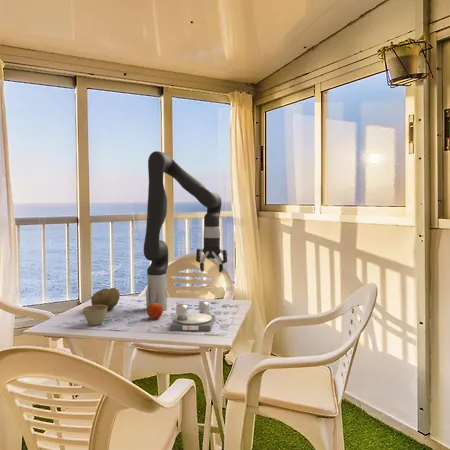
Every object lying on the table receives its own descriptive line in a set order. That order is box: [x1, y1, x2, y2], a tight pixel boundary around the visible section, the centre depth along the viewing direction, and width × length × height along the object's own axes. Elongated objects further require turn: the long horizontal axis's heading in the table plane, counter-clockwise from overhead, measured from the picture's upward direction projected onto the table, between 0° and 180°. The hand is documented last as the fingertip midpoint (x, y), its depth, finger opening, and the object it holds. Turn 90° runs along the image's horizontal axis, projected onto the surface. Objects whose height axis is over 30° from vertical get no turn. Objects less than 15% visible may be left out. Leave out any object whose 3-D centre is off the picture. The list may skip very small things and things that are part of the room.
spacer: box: [198, 300, 210, 315], centre depth 187 cm, size 4×4×6 cm
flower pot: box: [82, 304, 108, 326], centre depth 174 cm, size 10×10×7 cm
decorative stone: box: [90, 287, 121, 311], centre depth 198 cm, size 17×11×10 cm, turn 164°
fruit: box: [146, 301, 164, 320], centre depth 182 cm, size 7×7×8 cm
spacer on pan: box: [175, 303, 188, 321], centre depth 169 cm, size 4×4×6 cm
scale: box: [170, 312, 216, 332], centre depth 171 cm, size 16×17×3 cm
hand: (211, 271), depth 188 cm, fingers open, 8 cm apart
